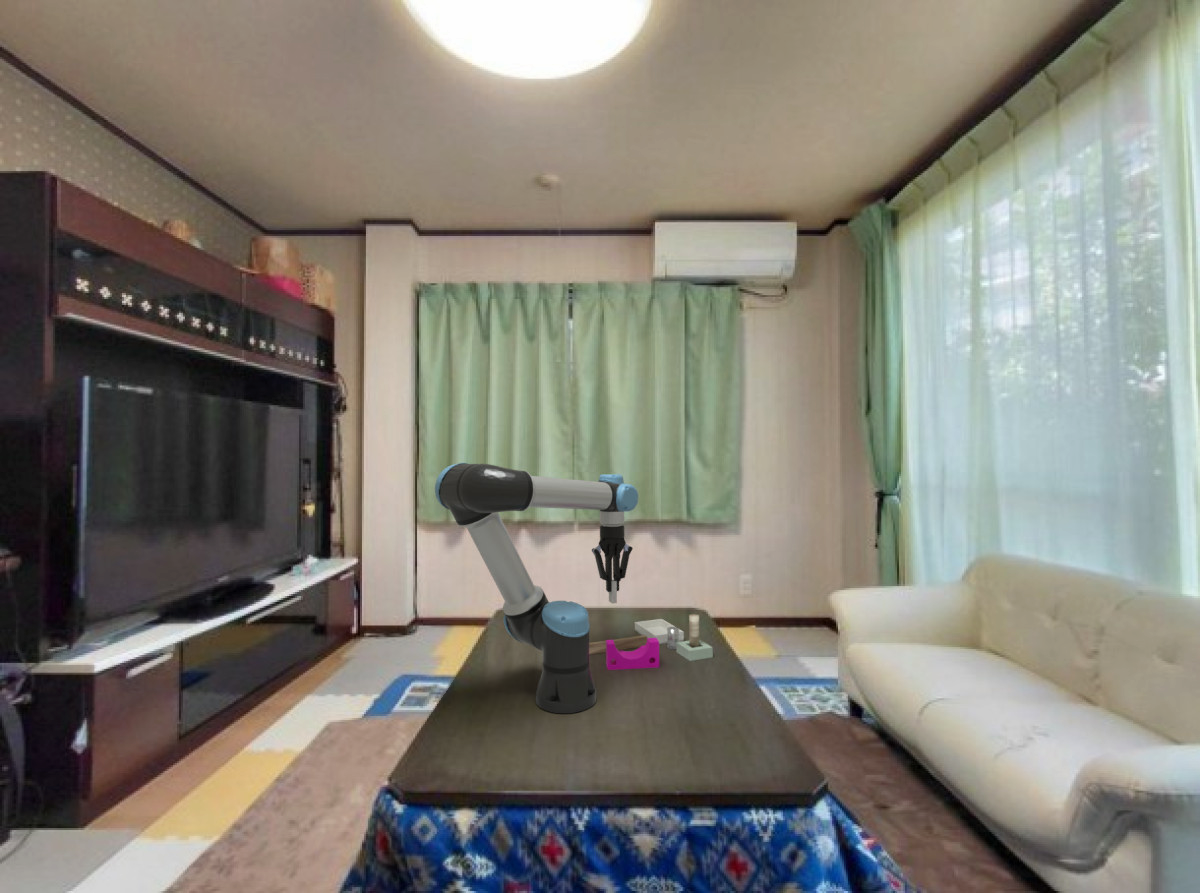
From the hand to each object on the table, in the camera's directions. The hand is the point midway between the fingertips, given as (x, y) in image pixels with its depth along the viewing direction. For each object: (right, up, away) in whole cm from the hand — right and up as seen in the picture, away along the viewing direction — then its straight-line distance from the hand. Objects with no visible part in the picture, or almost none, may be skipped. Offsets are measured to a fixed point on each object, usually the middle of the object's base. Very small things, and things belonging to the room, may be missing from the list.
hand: (612, 602), depth 167 cm
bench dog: (+19, -17, +7) cm, 27 cm away
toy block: (+5, -17, -6) cm, 19 cm away
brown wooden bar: (+1, -17, +6) cm, 18 cm away
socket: (+25, -17, +1) cm, 30 cm away
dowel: (+25, -17, +1) cm, 30 cm away
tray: (+16, -17, +19) cm, 30 cm away
